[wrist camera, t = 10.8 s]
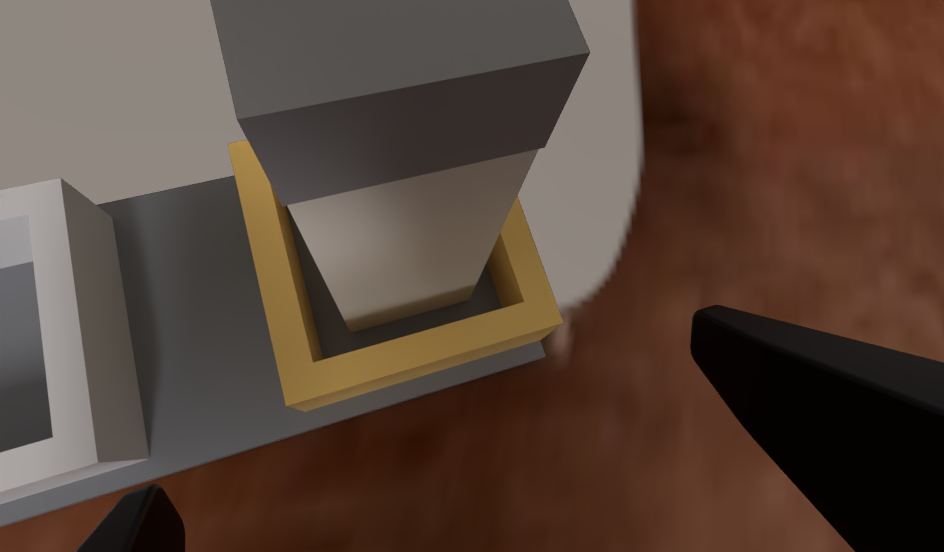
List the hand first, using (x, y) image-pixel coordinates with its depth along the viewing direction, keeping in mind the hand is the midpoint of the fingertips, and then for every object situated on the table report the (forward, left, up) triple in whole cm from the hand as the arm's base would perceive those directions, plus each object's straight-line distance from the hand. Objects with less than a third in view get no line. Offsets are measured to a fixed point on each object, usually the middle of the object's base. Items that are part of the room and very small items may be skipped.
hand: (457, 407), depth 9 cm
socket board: (+7, 0, -7) cm, 10 cm away
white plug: (+3, -4, -7) cm, 8 cm away
